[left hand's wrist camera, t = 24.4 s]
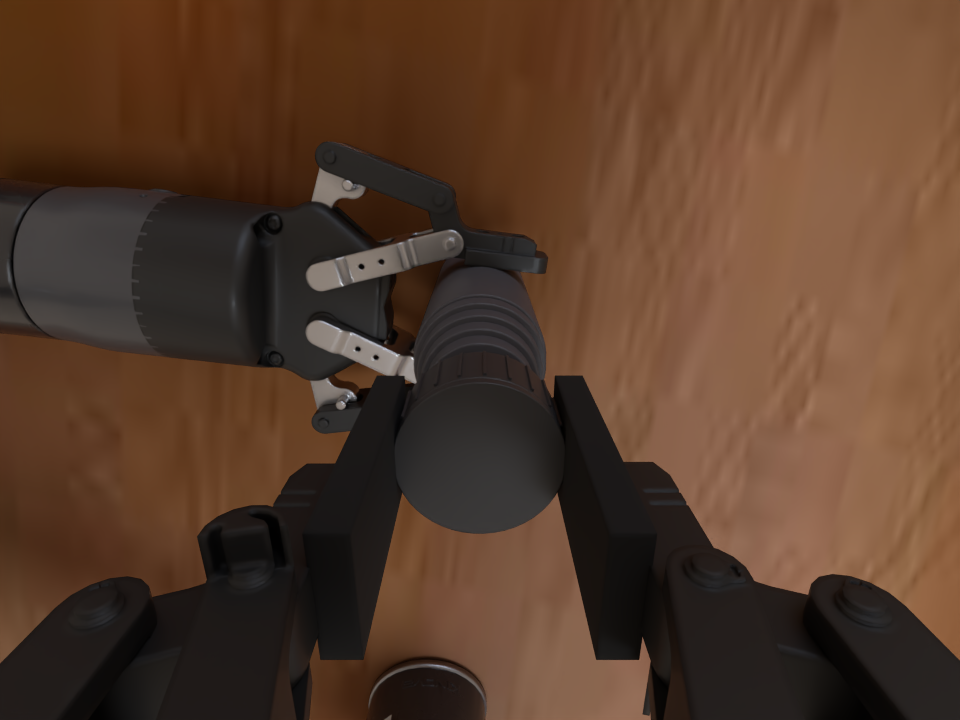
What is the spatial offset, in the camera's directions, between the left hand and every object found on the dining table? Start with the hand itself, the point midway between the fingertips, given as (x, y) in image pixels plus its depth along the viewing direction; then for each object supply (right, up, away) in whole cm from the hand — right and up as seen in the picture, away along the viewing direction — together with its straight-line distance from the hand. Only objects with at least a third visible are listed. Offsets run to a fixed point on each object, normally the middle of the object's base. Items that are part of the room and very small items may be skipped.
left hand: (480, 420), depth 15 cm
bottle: (0, +6, +16) cm, 17 cm away
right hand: (+3, +4, +10) cm, 11 cm away
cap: (0, -1, -2) cm, 2 cm away
